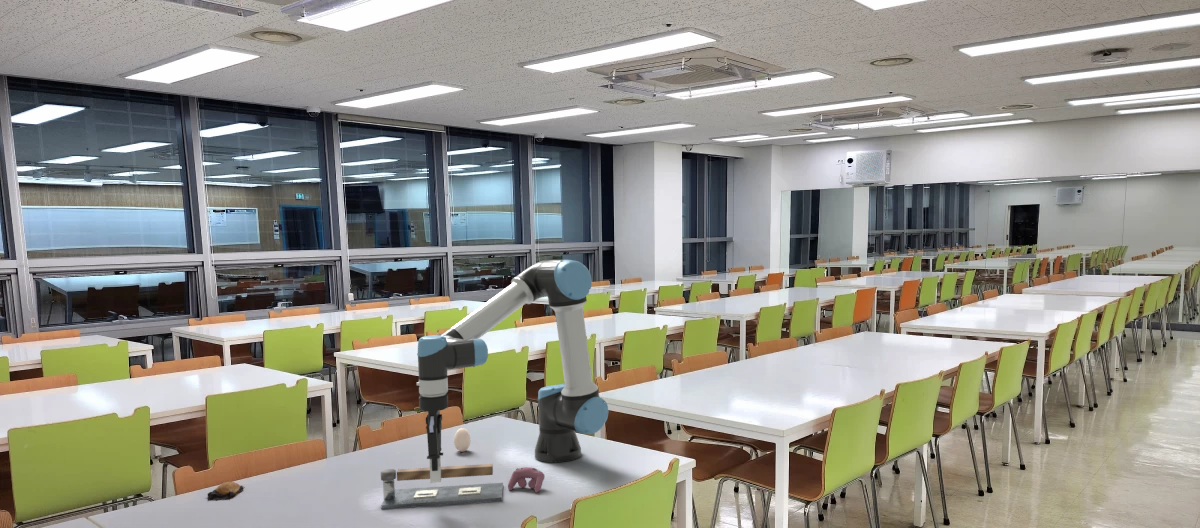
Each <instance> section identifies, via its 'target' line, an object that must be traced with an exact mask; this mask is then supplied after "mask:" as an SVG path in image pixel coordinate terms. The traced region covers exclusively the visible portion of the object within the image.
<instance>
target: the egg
mask: <svg viewBox="0 0 1200 528" xmlns="http://www.w3.org/2000/svg"><path fill="white" fill-rule="evenodd" d="M453 444H454V447H455V449H456V450H457V451H458V452H463V453H464V452H466V451H467V450H468V449H469V447H470V446H471V436H470V433H469V431H468V430H467V429H466V428H464V427H462V428H458V429H457V431H456V432H455V434H454V437H453Z"/></svg>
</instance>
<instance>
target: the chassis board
mask: <svg viewBox="0 0 1200 528" xmlns="http://www.w3.org/2000/svg"><path fill="white" fill-rule="evenodd" d="M382 487H383V488H382V489H383V490H382V491H383V501H382V504H381V506H380V507H381V510H384V509H385V510H387V509H403V508H416V507H432V506H446V505H464V504H476V503H477V504H478V503H495V502H502V501H503V491H504V482H494V483H493V482H492V483H491V482H490V483H478V484H462V485H461V484H460V485H446V486H445V485H444V486H433V487H431V486H430V487H417V488H416V487H414V488H400V489H399V488H398V489H395V479H394V480H391V481H382Z"/></svg>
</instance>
